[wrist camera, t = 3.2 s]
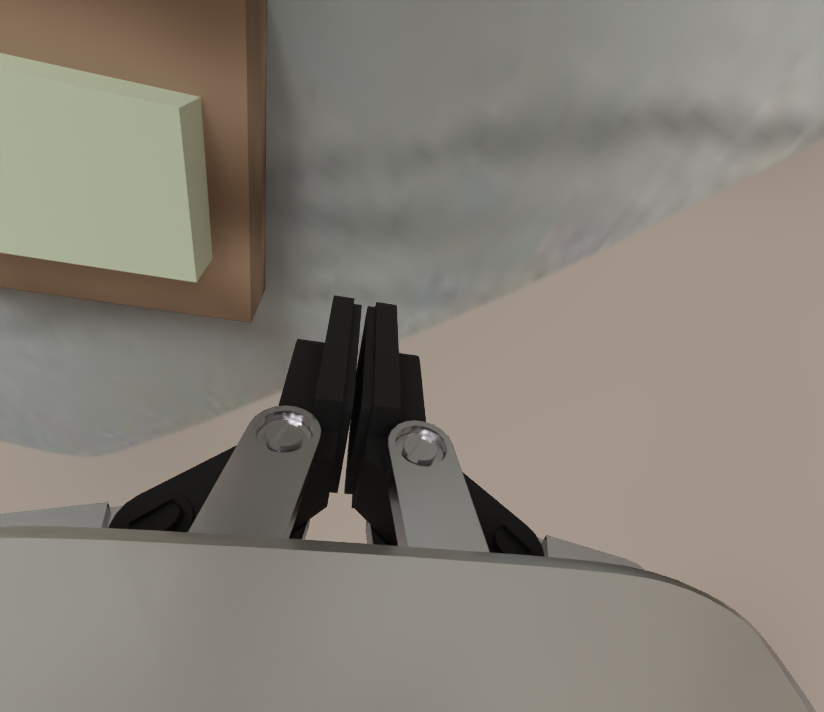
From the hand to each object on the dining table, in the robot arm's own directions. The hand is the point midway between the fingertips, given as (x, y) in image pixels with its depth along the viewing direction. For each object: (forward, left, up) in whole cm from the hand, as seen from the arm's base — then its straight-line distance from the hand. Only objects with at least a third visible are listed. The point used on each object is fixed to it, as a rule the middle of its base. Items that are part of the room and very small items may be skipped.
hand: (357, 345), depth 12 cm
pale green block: (-1, -11, -7) cm, 13 cm away
